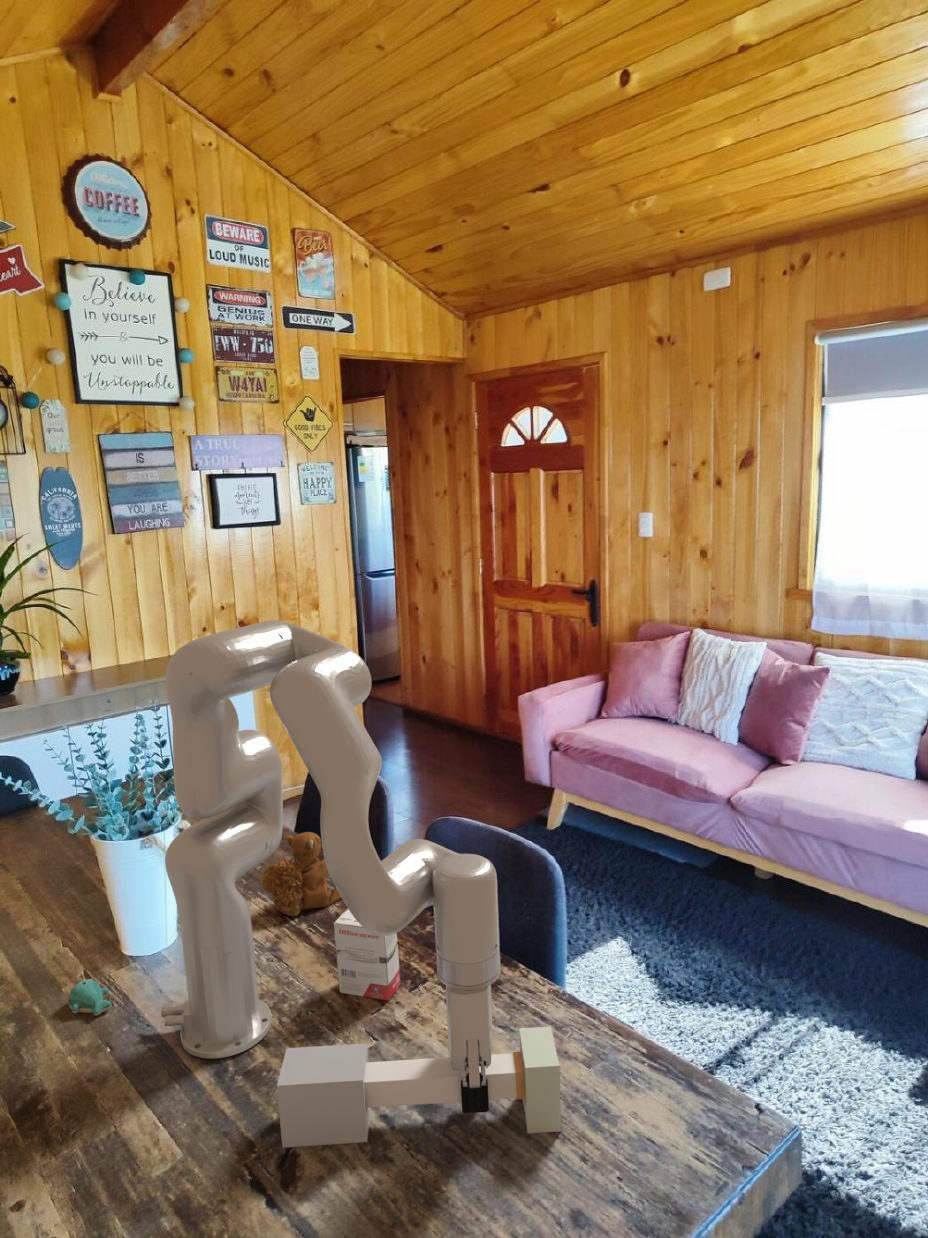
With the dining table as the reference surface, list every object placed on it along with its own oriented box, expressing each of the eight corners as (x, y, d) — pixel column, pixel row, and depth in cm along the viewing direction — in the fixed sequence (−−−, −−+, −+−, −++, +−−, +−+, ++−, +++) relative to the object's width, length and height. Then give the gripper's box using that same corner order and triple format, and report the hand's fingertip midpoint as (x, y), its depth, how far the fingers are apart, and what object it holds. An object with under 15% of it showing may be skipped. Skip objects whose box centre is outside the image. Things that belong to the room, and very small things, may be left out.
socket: (527, 1133, 97) (525, 1068, 96) (521, 1090, 104) (519, 1028, 103) (561, 1131, 97) (559, 1065, 96) (552, 1088, 104) (551, 1026, 103)
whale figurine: (97, 990, 130) (94, 968, 129) (122, 1007, 125) (119, 984, 125) (60, 1010, 125) (57, 987, 124) (85, 1028, 121) (82, 1004, 120)
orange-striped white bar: (345, 1110, 98) (343, 1083, 97) (348, 1088, 101) (346, 1062, 101) (545, 1097, 99) (544, 1071, 98) (541, 1076, 102) (541, 1050, 101)
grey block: (282, 1147, 97) (276, 1086, 95) (291, 1107, 103) (286, 1048, 102) (367, 1142, 97) (362, 1080, 96) (371, 1102, 103) (367, 1043, 102)
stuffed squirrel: (349, 896, 156) (344, 830, 153) (292, 930, 145) (286, 860, 142) (312, 882, 162) (307, 819, 159) (255, 914, 151) (249, 846, 148)
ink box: (402, 983, 128) (397, 913, 126) (389, 1002, 123) (384, 930, 121) (352, 974, 130) (347, 906, 129) (337, 993, 126) (332, 922, 124)
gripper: (436, 925, 105) (443, 1053, 108) (436, 1006, 89) (444, 1155, 92) (494, 921, 105) (500, 1050, 108) (505, 1002, 89) (511, 1150, 92)
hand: (474, 1096), depth 100 cm, fingers closed on orange-striped white bar, 3 cm apart
